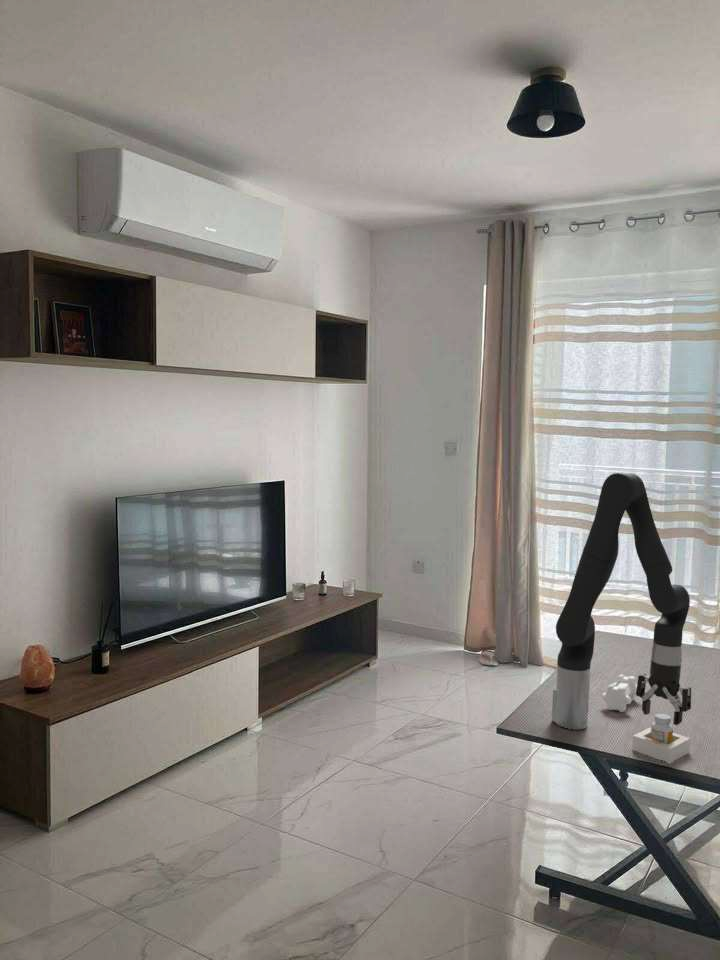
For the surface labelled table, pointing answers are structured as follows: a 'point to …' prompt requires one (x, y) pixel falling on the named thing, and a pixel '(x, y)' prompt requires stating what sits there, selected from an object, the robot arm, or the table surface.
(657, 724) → the supplement bottle
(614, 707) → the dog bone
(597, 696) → the table surface
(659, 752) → the socket block
